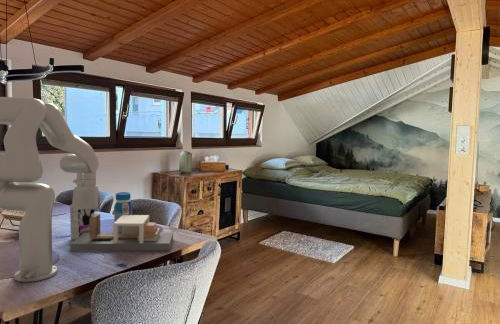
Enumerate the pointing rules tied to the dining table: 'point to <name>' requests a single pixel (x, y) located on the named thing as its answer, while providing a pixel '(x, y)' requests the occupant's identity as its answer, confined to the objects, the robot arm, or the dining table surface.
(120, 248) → the track board
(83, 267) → the dining table surface
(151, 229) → the terracotta block
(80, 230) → the candy bar box
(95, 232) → the sled
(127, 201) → the beverage bottle
